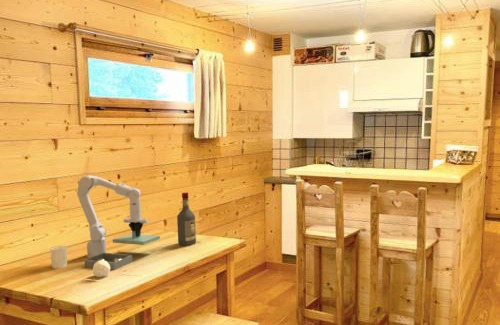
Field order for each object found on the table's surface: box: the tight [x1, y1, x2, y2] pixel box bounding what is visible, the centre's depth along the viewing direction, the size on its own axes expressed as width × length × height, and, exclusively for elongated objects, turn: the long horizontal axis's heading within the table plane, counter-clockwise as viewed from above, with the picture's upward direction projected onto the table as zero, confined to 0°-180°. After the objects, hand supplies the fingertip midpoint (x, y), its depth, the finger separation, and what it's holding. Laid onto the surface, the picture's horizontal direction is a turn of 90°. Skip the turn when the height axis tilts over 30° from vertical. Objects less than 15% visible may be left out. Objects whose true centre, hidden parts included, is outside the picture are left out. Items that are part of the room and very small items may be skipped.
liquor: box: [176, 192, 197, 247], centre depth 268 cm, size 9×9×30 cm
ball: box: [92, 260, 111, 278], centre depth 211 cm, size 8×8×8 cm
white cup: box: [49, 245, 68, 269], centre depth 228 cm, size 8×8×10 cm
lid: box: [112, 231, 161, 246], centre depth 247 cm, size 19×15×5 cm
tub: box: [83, 252, 133, 271], centre depth 229 cm, size 18×14×4 cm
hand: (136, 236), depth 247 cm, fingers closed on lid
